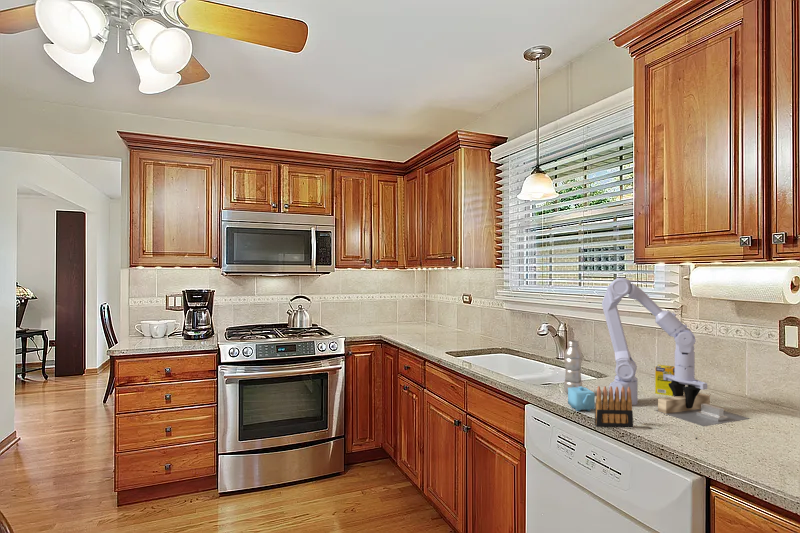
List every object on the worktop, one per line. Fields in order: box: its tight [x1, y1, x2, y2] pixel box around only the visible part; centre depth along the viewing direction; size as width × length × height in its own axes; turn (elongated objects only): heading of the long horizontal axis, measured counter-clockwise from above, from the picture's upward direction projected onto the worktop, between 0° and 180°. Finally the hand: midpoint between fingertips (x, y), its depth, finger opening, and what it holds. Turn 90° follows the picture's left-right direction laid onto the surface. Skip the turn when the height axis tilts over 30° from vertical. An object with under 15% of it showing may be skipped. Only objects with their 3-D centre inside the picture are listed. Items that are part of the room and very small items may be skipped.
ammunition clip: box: [594, 385, 634, 429], centre depth 145 cm, size 11×2×12 cm, turn 86°
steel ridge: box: [697, 404, 728, 422], centre depth 151 cm, size 4×7×4 cm, turn 21°
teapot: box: [567, 385, 596, 412], centre depth 162 cm, size 12×6×8 cm, turn 3°
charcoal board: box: [654, 409, 752, 427], centre depth 154 cm, size 21×17×1 cm
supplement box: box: [654, 364, 675, 397], centre depth 181 cm, size 6×6×11 cm
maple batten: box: [657, 392, 711, 415], centre depth 160 cm, size 20×3×4 cm, turn 111°
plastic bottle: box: [563, 339, 584, 394], centre depth 182 cm, size 6×7×20 cm
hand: (684, 406), depth 160 cm, fingers closed on maple batten, 3 cm apart
